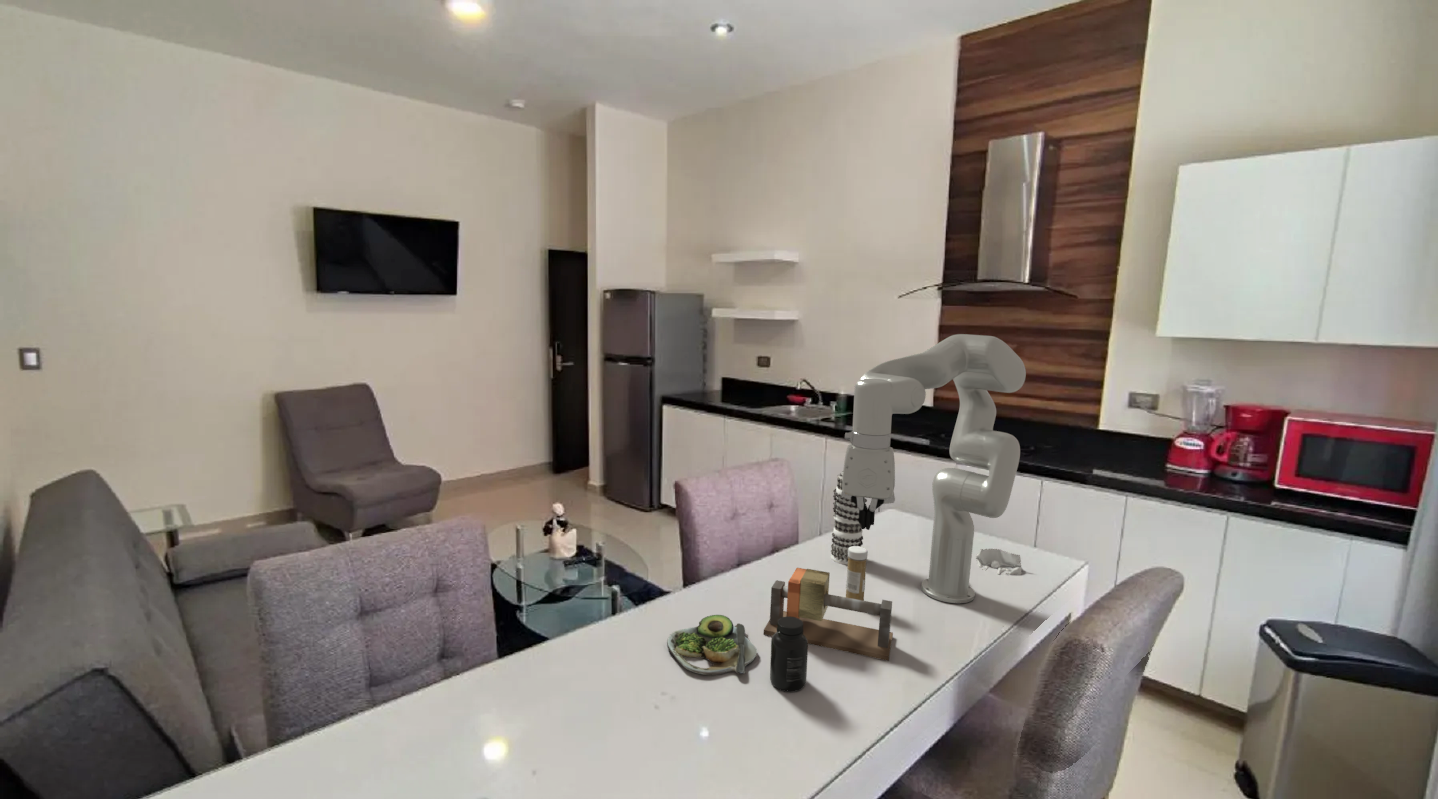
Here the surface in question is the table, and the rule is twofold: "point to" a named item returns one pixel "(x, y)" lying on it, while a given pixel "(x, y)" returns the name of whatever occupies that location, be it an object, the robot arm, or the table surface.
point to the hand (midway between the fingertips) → (866, 527)
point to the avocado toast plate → (713, 646)
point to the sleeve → (813, 594)
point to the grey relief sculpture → (999, 560)
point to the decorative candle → (844, 525)
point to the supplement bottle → (789, 655)
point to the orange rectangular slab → (794, 593)
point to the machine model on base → (839, 625)
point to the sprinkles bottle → (856, 572)
